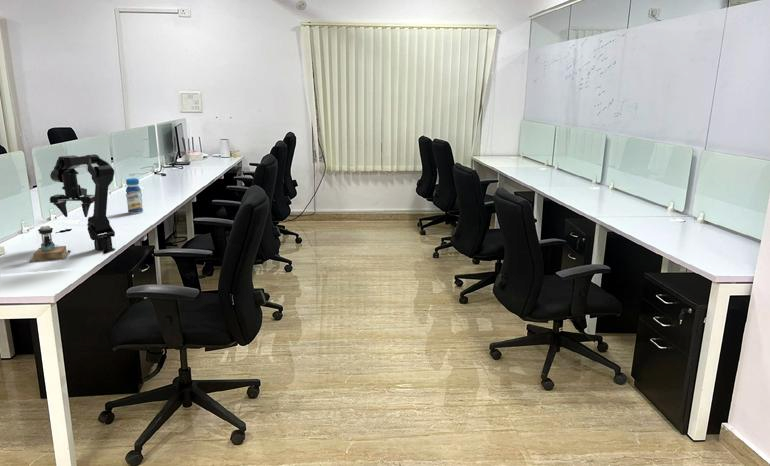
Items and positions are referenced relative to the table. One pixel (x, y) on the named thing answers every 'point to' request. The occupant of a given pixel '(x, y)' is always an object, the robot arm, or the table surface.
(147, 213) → the table surface
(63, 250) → the tan flat square block
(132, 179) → the beverage bottle
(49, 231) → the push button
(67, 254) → the base plate
